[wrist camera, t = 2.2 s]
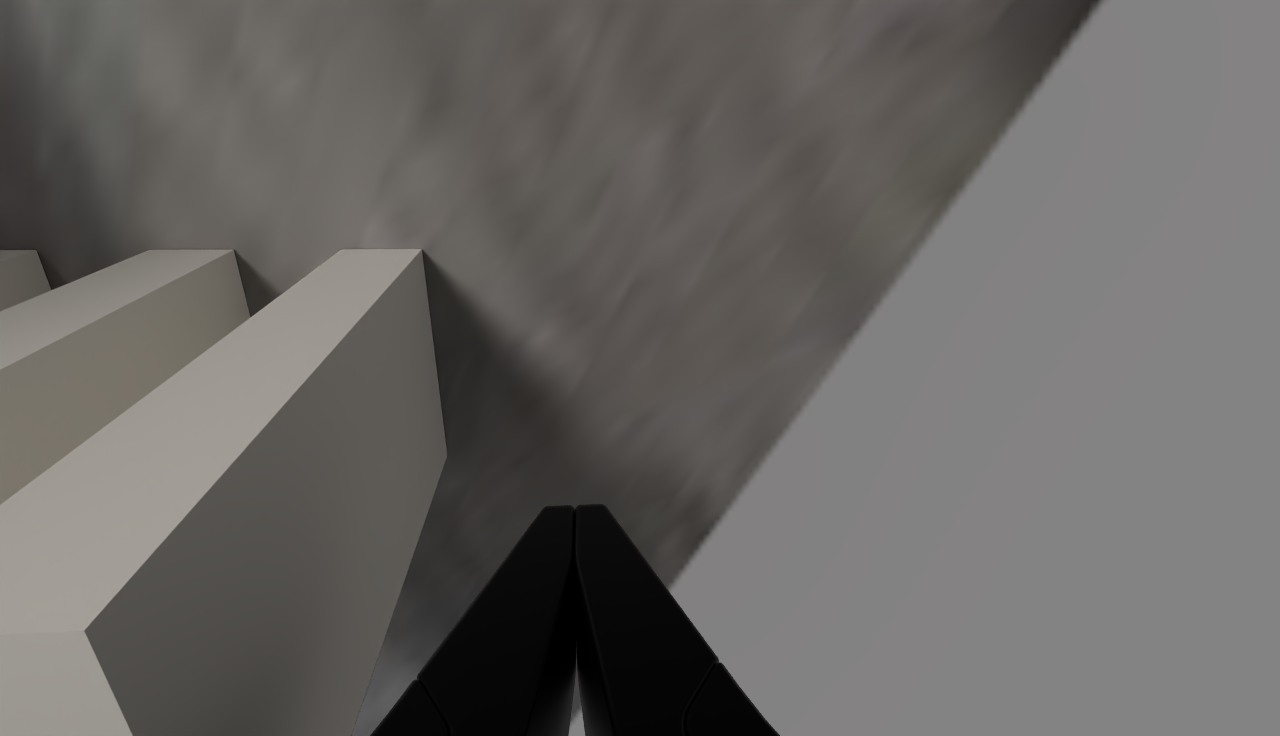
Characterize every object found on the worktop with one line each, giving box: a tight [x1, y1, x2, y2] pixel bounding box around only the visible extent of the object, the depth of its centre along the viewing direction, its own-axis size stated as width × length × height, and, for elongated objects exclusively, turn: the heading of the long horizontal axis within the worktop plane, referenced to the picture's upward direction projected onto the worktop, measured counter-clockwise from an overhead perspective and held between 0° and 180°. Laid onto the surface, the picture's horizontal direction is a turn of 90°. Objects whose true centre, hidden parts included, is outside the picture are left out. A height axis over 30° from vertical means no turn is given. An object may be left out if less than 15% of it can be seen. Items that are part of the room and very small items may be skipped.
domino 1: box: [0, 250, 250, 505], centre depth 9 cm, size 2×5×10 cm, turn 179°
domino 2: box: [0, 249, 447, 736], centre depth 10 cm, size 2×5×10 cm, turn 179°
